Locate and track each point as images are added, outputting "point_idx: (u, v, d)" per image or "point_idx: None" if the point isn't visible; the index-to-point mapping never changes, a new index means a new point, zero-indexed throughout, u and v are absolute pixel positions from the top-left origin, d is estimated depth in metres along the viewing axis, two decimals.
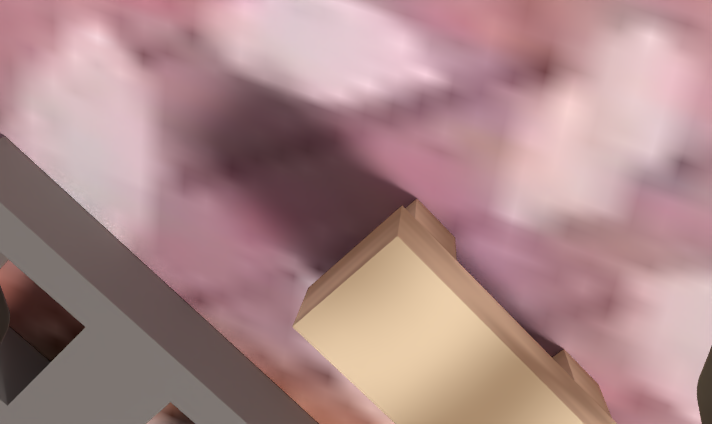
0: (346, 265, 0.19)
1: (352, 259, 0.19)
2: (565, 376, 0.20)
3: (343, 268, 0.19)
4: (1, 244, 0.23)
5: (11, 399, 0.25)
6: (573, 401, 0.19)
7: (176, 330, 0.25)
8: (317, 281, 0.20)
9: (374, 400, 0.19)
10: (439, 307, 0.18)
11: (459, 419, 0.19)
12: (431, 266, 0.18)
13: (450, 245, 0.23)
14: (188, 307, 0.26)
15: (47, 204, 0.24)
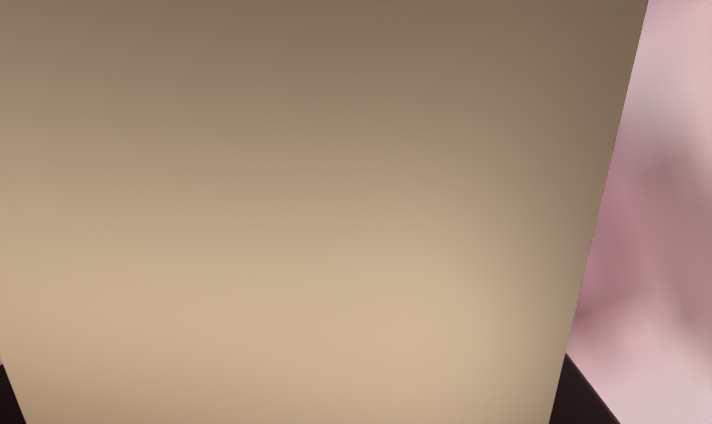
0: None
1: None
2: None
3: None
4: None
5: None
6: None
7: None
8: None
9: None
10: (493, 190, 0.04)
11: None
12: None
13: None
14: None
15: None
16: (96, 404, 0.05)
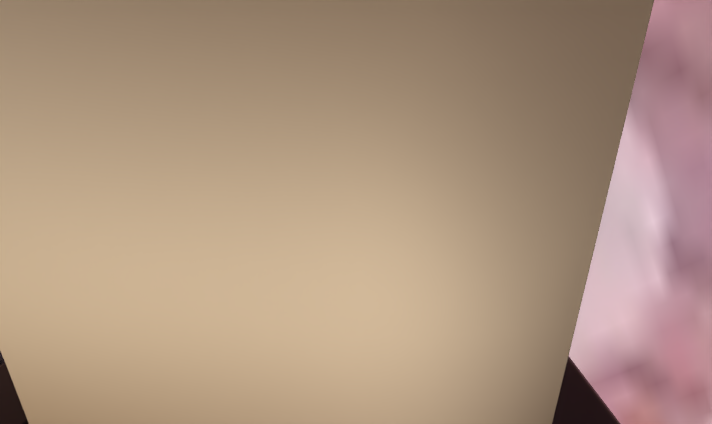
0: None
1: None
2: None
3: None
4: None
5: None
6: None
7: None
8: None
9: None
10: (498, 188, 0.04)
11: None
12: None
13: None
14: None
15: None
16: (98, 403, 0.05)
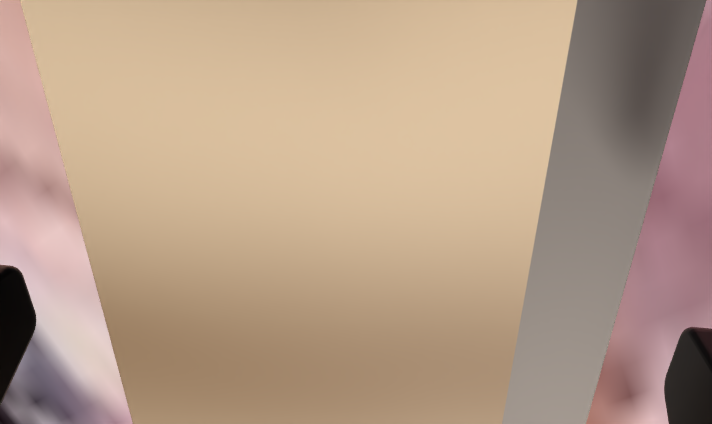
0: None
1: None
2: None
3: None
4: None
5: None
6: None
7: None
8: None
9: (74, 171, 0.06)
10: (481, 85, 0.05)
11: (254, 355, 0.07)
12: None
13: None
14: None
15: None
16: (161, 285, 0.06)
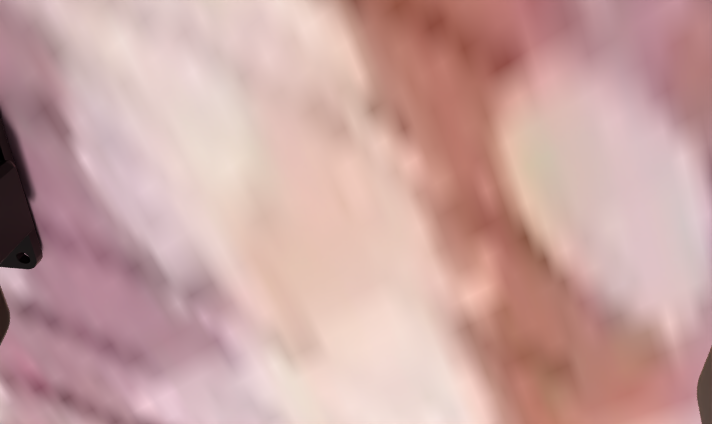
0: None
1: None
2: None
3: None
4: None
5: None
6: None
7: None
8: None
9: None
10: None
11: None
12: None
13: None
14: None
15: None
16: None
